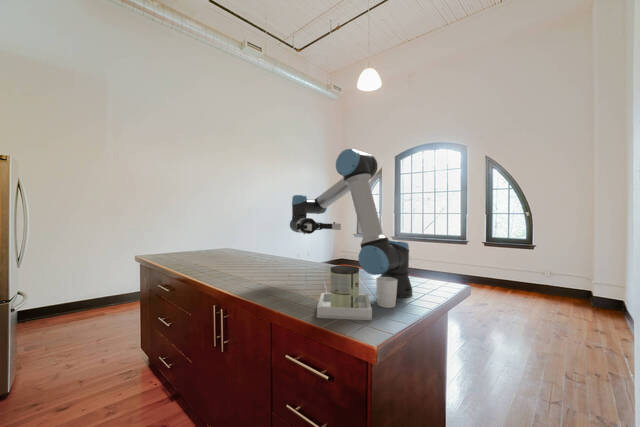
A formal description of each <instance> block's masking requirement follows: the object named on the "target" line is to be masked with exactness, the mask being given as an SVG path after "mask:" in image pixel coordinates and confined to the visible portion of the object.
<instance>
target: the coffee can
mask: <svg viewBox="0 0 640 427" xmlns="http://www.w3.org/2000/svg"><path fill="white" fill-rule="evenodd" d="M359 273H360V268H359V267H357V266H353V265H334V266H331V267H330V293H331V305H330V307H348V308H359V294H360V292H359V289H360V288H359V285H360V284H359V282H360V280H359V279H360V278H359V277H360V276H359Z"/></svg>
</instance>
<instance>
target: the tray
mask: <svg viewBox="0 0 640 427" xmlns="http://www.w3.org/2000/svg"><path fill="white" fill-rule="evenodd" d="M330 305H331V292H321V294H320V297H319V300H318V302H317V307H316V318H317V319H330V320H332V319H333V320H350V321H351V320H352V321H353V320H354V321H355V320H356V321H357V320H358V321H373V308H372V306H371V302H370V298H369V294H368V293H367V294H362V293H359V308H348V307H330Z"/></svg>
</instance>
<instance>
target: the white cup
mask: <svg viewBox="0 0 640 427" xmlns="http://www.w3.org/2000/svg"><path fill="white" fill-rule="evenodd" d="M375 279H376V298H377V299H376V300H377V306H379V307H381V308H386V309H389V308H390V309H391V308H392V309H393V308H395V307H396V305H397V297H396V294H397V279H396V278H392V277H381V276H378V277H376V278H375Z"/></svg>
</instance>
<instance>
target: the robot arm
mask: <svg viewBox="0 0 640 427" xmlns="http://www.w3.org/2000/svg"><path fill="white" fill-rule="evenodd" d="M378 166H379V165H378V161H377V159H376V158H375V156H373V155H372V154H370V153H367V152H363V151H360V150H357V149H355V148H346V149H343V150H342V151H341V152H340V153H339V155H338V156H337V158H336V159H335V169H336V172H337V174H339V175H340V176H341V177H342V178H341V179H340V180H338V181H337V182H336V183H334V184H333V185H332V186H330V187H329V188H328V189H327V190H325V191H324V192H322V194H320V195H318V196H317V197H316V198H314V199H308V197H307V195H306V194H295V195H293V196H292V199H291V200H292V201H291V210H292V211H291V212H292V213H291V214H292V215H291V220H290V222H289V228H290V230H291V231H292V232H293V233H294V232H295V233H302V234H303V235H306V234H308V235H309V234H310V235H311V234H313V233H314V232H315V231H317V230H319V231H321V230H334V231H341V229H342V228H341V226H342V225H341V223H336V222H335V221H333V223H324V222H317V221H315V220H314V219H313V218H312V217H311V218H310V217H307V216H308V215H307V214H312V215H313V214H316V215H320V214H325V213H326V212H327V209H328V207H329V206H331V205H332V204H334V203H335V202H337V201H338V200H340V199H341V198H342V197H344V196H345V195H347V194H348V193H349V192H350V195H351V198H352V202H353V206H354V210H355V214H356V218H357V221H358V226H359V230H360V234H361V237H362V240H361V242H360V244H359V245H360V250H359V254H358V256H357V258H358V263H359V265H360V267H361V269H362V270H363V271H365V272H366V274H369V275H373V276H375V275H380V277H392V278H396V279H397V294H396V298H408V297H411V296H413V286H412V284H411V283H412V282H411V279H410V278H409V276H410V275H409V266H410V265H409V264H410V263H409V261H410V257H409V256H410V249H409V248H410V247H409V243H408V242H407V241H399V240H392V239H391V240H390V239H389V237H388V236H386V235H384V233H383V229H382V226H381V222H380V218H379V214H378V210H377V207H376V204H375V200H374V196H373V193H372V189H371V185H370V184H371V183H370V180H371V179H373V178H374V176H375V175H376V174H377V172H378V168H379V167H378Z"/></svg>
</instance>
